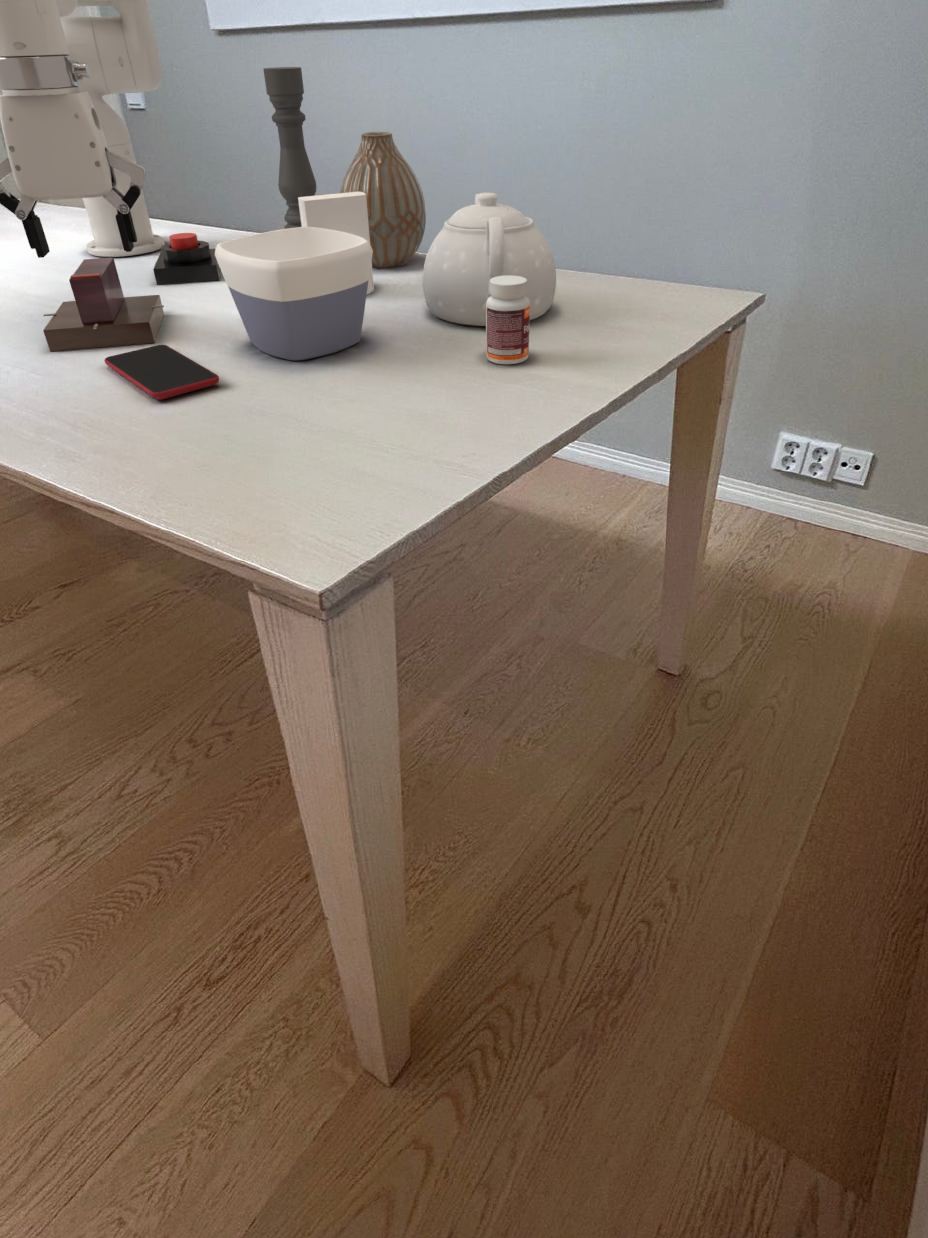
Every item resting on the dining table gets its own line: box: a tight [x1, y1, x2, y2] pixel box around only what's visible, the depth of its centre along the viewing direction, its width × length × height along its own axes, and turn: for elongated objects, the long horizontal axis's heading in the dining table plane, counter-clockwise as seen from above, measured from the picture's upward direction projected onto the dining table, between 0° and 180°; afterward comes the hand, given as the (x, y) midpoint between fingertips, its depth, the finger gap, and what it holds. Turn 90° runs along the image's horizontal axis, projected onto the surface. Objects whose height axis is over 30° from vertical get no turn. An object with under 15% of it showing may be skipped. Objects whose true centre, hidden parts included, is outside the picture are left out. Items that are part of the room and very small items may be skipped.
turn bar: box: [68, 257, 125, 324], centre depth 97 cm, size 10×4×5 cm, turn 11°
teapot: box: [422, 192, 557, 327], centre depth 100 cm, size 19×18×14 cm
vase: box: [339, 131, 427, 269], centre depth 120 cm, size 13×13×18 cm
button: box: [168, 232, 199, 249], centre depth 120 cm, size 4×4×2 cm
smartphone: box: [103, 344, 220, 401], centre depth 87 cm, size 7×1×15 cm
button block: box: [152, 239, 222, 286], centre depth 121 cm, size 11×9×4 cm
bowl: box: [214, 227, 373, 362], centre depth 91 cm, size 15×15×11 cm
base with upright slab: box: [298, 192, 375, 295], centre depth 109 cm, size 9×9×12 cm
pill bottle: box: [485, 275, 531, 365], centre depth 87 cm, size 5×5×8 cm
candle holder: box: [262, 66, 318, 229], centre depth 127 cm, size 6×6×25 cm
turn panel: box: [42, 294, 165, 352], centre depth 99 cm, size 14×14×3 cm
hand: (87, 252), depth 94 cm, fingers open, 9 cm apart
